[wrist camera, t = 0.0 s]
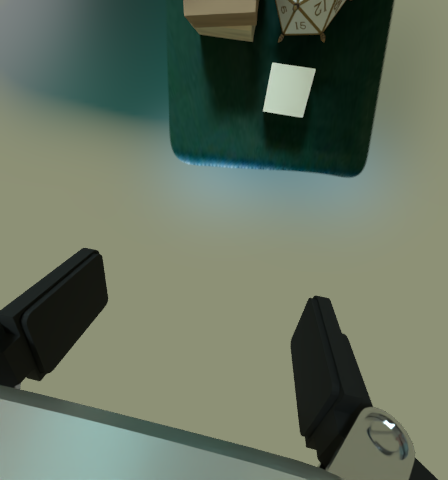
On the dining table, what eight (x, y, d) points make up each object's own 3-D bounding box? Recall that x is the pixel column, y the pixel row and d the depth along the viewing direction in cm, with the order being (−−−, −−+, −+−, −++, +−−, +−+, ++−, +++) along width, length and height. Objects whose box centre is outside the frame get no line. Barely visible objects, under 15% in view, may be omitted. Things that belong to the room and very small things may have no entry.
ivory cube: (271, 69, 32) (272, 62, 27) (308, 74, 31) (315, 68, 27) (263, 111, 34) (262, 111, 30) (297, 116, 34) (302, 117, 29)
